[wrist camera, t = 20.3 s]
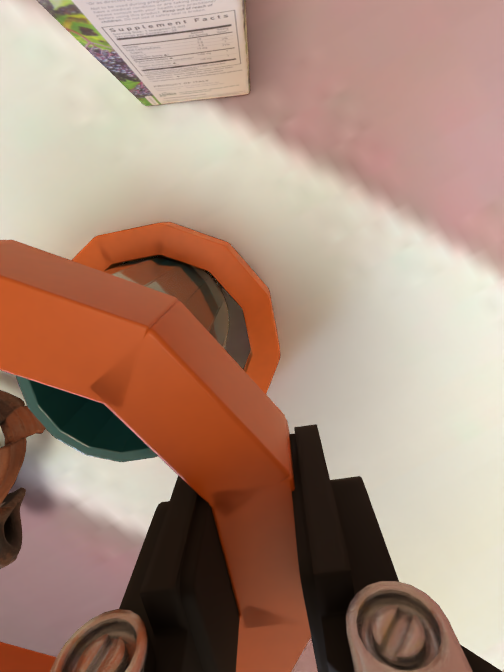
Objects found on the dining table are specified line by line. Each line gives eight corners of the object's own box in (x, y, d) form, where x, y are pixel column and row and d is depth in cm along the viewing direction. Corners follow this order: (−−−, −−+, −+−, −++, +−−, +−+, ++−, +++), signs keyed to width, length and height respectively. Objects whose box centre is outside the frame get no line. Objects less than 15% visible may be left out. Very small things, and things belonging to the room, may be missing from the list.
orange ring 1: (292, 413, 26) (294, 431, 24) (100, 444, 27) (87, 463, 25) (253, 204, 22) (252, 203, 20) (32, 250, 23) (9, 254, 21)
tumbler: (240, 367, 25) (227, 447, 16) (124, 386, 26) (52, 472, 17) (214, 244, 23) (183, 262, 14) (87, 268, 23) (-16, 300, 15)
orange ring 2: (331, 669, 11) (346, 772, 9) (-83, 705, 13) (-152, 803, 11) (246, 192, 8) (239, 183, 5) (-342, 308, 9) (-536, 339, 7)
